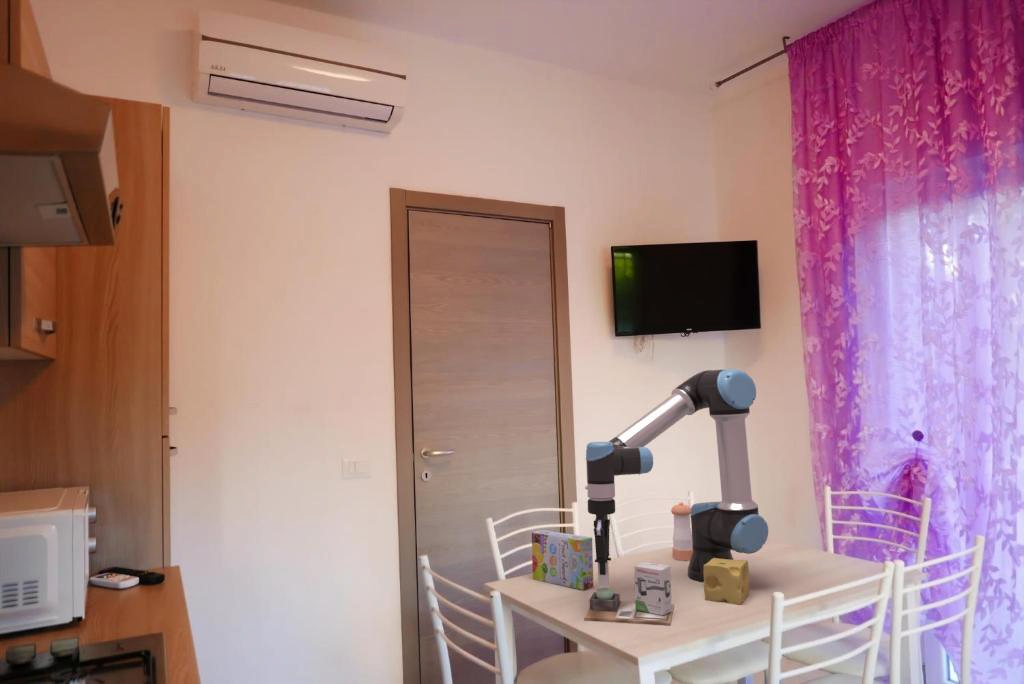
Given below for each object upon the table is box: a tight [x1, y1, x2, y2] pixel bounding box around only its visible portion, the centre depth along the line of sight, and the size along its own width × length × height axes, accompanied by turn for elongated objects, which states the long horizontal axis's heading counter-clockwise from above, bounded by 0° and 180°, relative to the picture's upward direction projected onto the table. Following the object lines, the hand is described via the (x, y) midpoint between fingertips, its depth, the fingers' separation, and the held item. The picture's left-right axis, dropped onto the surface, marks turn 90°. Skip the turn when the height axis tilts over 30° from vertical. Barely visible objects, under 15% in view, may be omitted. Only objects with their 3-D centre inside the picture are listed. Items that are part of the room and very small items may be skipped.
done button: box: [596, 587, 614, 600], centre depth 196 cm, size 4×4×3 cm
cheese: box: [703, 558, 750, 606], centre depth 204 cm, size 10×11×10 cm
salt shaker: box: [670, 502, 693, 561], centre depth 251 cm, size 7×7×19 cm
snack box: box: [531, 529, 594, 591], centre depth 224 cm, size 21×6×15 cm, turn 45°
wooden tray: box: [583, 592, 675, 626], centre depth 192 cm, size 22×16×3 cm
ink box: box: [634, 561, 672, 615], centre depth 191 cm, size 9×5×12 cm, turn 50°
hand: (603, 585), depth 196 cm, fingers closed
